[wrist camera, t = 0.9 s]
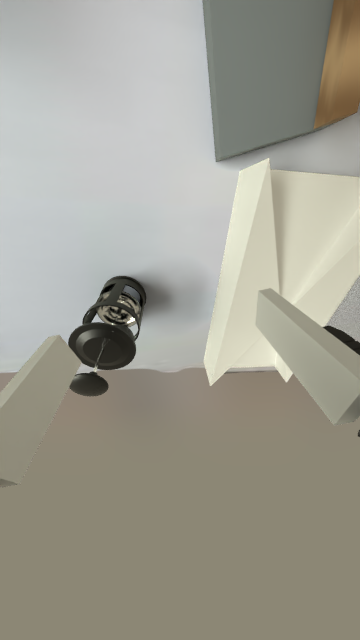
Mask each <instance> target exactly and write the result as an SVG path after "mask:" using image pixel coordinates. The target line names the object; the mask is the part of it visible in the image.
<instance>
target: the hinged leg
mask: <svg viewBox="0 0 360 640" xmlns="http://www.w3.org/2000/svg"><path fill="white" fill-rule="evenodd" d="M359 102H360V0H334V2H333V8H332V15H331V21H330V28H329V34H328V40H327V47H326V53H325V59H324V66H323V72H322V78H321V85H320V91H319V98H318V104H317V110H316V117H315V123H314V129H316V128H319V127H323V126H326V125H329V124H332V123H336V122H338V121H340V120H342V119H344V118H346V117H348V116H350V115H352V114H354V113H357V110H358V106H359Z"/></svg>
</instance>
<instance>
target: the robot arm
mask: <svg viewBox="0 0 360 640" xmlns="http://www.w3.org/2000/svg"><path fill="white" fill-rule="evenodd" d="M255 325H256V326H257V328H258V329H259V330H260V331H261V333H262V334H263V335H264V337H265V338H266V339H267V340H268V342H269V343H270V344H271V346H272V347H273V348H274V349H275V351H276V352H277V353H278V354H279V356H280V357H281V358H282V360H283V361H284V362H285V363H286V365H287V366H288V367H289V368H290V370H291V371H292V372H293V374H294V375H295V376H296V377H297V379H298V380H299V381H300V382H301V384H302V385H303V386H304V388H305V389H306V390H307V391H308V393H309V394H310V395H311V396H312V398H313V399H314V400H315V401H316V403H317V404H318V405H319V407H320V408H321V409H322V410H323V412H324V413H325V414H326V416H327V417H328V418H329V419H330V420H331V422H332V423H333V424H334V425H339V424H345V423H350V422H354V421H355V420H356V419H357V418H358V417H359V416H360V343H359V342H358V341H355V339H353V338H352V337H350V336H349V335H348V334H346V333H345V332H343V331H341V330H338V329H336V328H334V327H331V326H325V327H321V326H320V325H319V324H317V323H316V322H315V321H313V320H312V319H311V318H310V317H308V316H307V315H306V314H304V313H303V312H302V311H300V310H299V309H298V308H296V307H295V306H294V305H292V304H291V303H290V302H288V301H287V300H286V299H284V298H283V297H282V296H280V295H279V294H278V293H277V292H275V291H274V290H273V289H271V288H268V289H264V290H259V291H258V300H257V312H256V324H255ZM81 363H82V362H81V361H80V359H79V358H78V357H77V356H76V355H75V353H74V352H73V351H72V350H71V348H70V347H69V346H68V345H67V344H66V342H65V341H64V340H63V339H62V338H61V336H60V335H56V336H51V337H48V338H47V339H46V340H45V341H44V343H43V344H42V345H41V346H40V347H39V348H38V350H37V351H36V352H35V353H34V354H33V355H32V357H31V358H30V359H29V360H28V361H27V362H26V363H25V365H24V366H23V367H22V368H21V369H20V370H19V372H18V373H17V374H16V375H15V376H14V377H13V379H12V380H11V381H10V382H9V383H8V384H7V386H6V387H5V388H4V389H3V390H2V392H1V393H0V487H6V486H11V485H17V484H20V482H21V480H22V478H23V477H24V474H25V473H26V470H27V468H28V467H29V465H30V463H31V461H32V459H33V457H34V455H35V453H36V451H37V449H38V447H39V445H40V443H41V441H42V439H43V437H44V435H45V433H46V431H47V429H48V427H49V425H50V424H51V421H52V420H53V418H54V416H55V414H56V412H57V410H58V408H59V406H60V404H61V402H62V400H63V398H64V396H65V394H66V392H67V390H68V388H69V386H70V384H71V382H72V380H73V378H74V376H75V374H76V372H77V370H78V369H79V367H80V365H81ZM358 436H359V437H360V430H359V432H358Z"/></svg>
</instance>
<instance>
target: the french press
mask: <svg viewBox="0 0 360 640" xmlns="http://www.w3.org/2000/svg"><path fill="white" fill-rule="evenodd" d="M113 285H115V286H114V287H113V289H112V291H109V290H110V288H111V287H112V286H113ZM125 285H128V286H130V287H132V288H134V289H135V290H136V291H137V292H138V293H139V294H140V303H138V302H137V300H136V299H135V298H134V297H133V296H131V295H130V294H128V293H126V292H124V291H123V289H124V286H125ZM145 303H146V293H145V290H144V288H143V287H142V286H141V284H140V283H139V282H137V281H136V280H134V279H132V278H130V277H126V276H117V277H114V278H111V279H110V280H108V281H107V282H106V284H105V285H104V287H103V290H102V291H101V293H100V297H99V298H98V300H97V302H96V304H94V305H93V306H91V307H90V309H89V310H88V311H87V312H86V314H85V316H84V318H83V325H82V326H80V327H78V328H76V329H75V330H74V331H73V332H72V334H71V335H70V338H69V342H68V344H69V347H70V348H71V350H72V351H73V352H74V353H75V355H76V356H77V357H78V358H79V359H80V361H81V362H82V363H83V364H85V365H87V366H89V367H93V368H94V370H93V372H90V373H81V374H76V375H75V376H74V378H73V380H72V382H71V384H70V386H69V387H70V389H71V390H72V391H74V392H75V393H77V394H80V395H83V396H98V395H101V394H103V393H105V392H106V391H107V390H108V383H107V381H106V380H104V379H103V378H102V377H100V376H98V375H97V373H96V370H97V369H102V370H113V369H119V368H122V367H124V366H126V365H128V364H129V363H130V362H131V361H132V360H133V359H134V356H135V354H136V345H135V340H136V339H137V337H138V335H139V331H140V326H141V320H142V314H143V309H144V305H145ZM88 313H89V314H88ZM96 313H97V314H98V316H99V317H100V319H101V320H102V321H103V322H105V323H100V322H97V323H91V322H92V320H93V318H94V317H95V315H96ZM87 314H88V315H87ZM136 323H137V325H138V332H137V334H136V335H135V336H134V335H133V333H132V331H131V330H130V329H129V328H128V327H131V326H133V325H135V324H136Z"/></svg>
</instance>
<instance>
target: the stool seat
mask: <svg viewBox="0 0 360 640" xmlns="http://www.w3.org/2000/svg"><path fill="white" fill-rule="evenodd" d="M333 2H334V0H203V11H204V23H205V35H206V48H207V60H208V72H209V84H210V96H211V108H212V120H213V133H214V145H215V157H216V162H217V161H221V160H224V159H227V158H230V157H234V156H237V155H240V154H244V153H247V152H250V151H253V150H257V149H260V148H263V147H266V146H270V145H273V144H276V143H279V142H283V141H286V140H289V139H292V138H296V137H299V136H302V135H305V134H309V133H312V132H315V131H318V130H321V129H323V128H325V127H327V126H329V125H332V124H334V123H332V124H329V125H326V126H323V127H319V128H316V129H314V123H315V117H316V110H317V104H318V98H319V91H320V85H321V78H322V72H323V66H324V59H325V53H326V47H327V40H328V34H329V28H330V21H331V15H332V8H333Z"/></svg>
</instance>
